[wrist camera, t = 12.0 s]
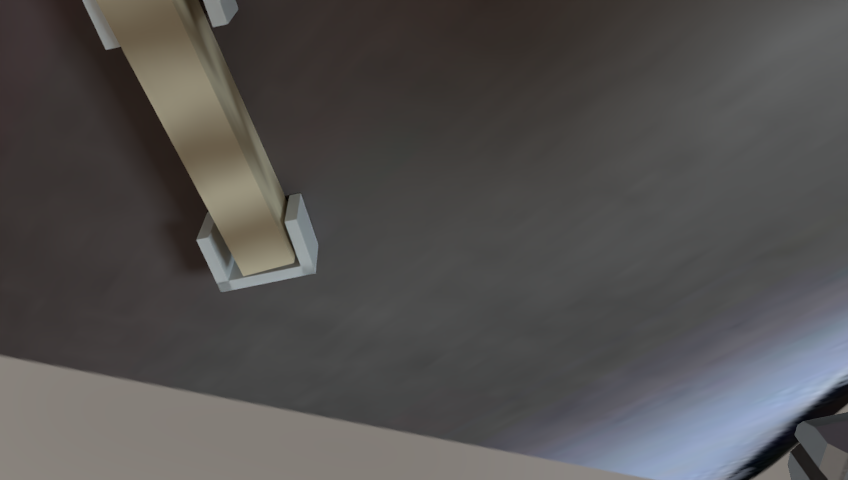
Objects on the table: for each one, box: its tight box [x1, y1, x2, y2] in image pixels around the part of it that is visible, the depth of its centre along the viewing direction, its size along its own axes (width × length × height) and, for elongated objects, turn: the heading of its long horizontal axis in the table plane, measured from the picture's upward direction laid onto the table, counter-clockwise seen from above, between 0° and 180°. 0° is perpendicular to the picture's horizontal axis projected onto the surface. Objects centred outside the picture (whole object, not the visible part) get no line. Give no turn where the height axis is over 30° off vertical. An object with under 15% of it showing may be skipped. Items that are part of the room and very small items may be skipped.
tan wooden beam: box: [96, 0, 296, 276], centre depth 36 cm, size 18×4×4 cm, turn 14°
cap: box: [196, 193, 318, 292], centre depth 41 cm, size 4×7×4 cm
